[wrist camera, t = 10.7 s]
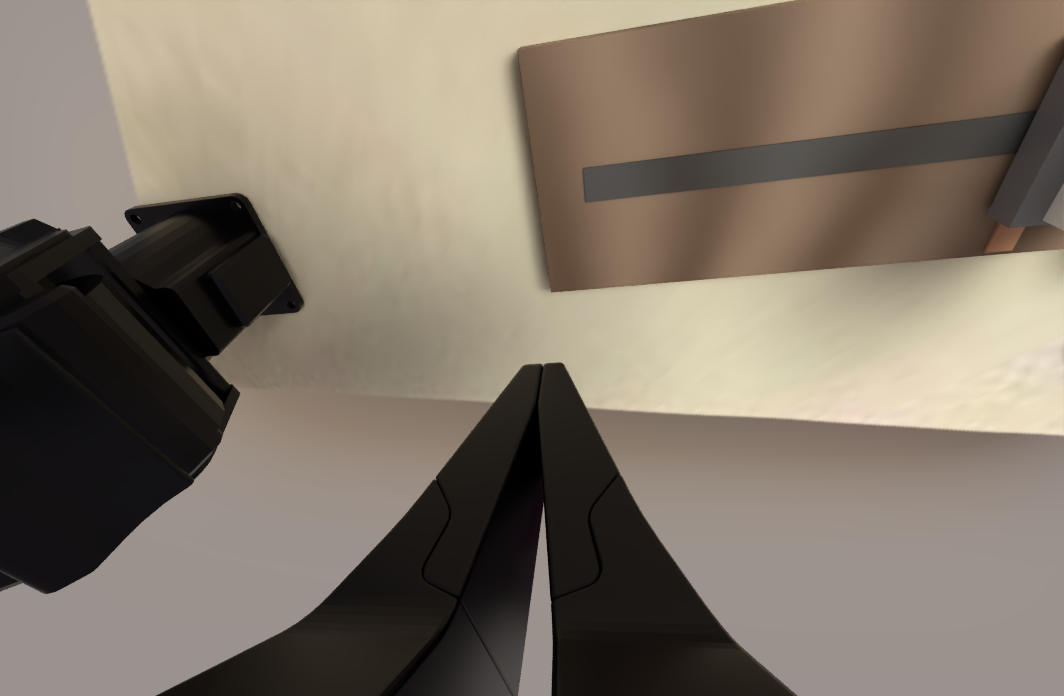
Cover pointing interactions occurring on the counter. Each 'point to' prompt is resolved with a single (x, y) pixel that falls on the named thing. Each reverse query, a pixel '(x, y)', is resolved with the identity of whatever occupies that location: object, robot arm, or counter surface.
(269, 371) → the counter surface
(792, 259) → the slider base
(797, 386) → the counter surface
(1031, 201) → the fader tab
